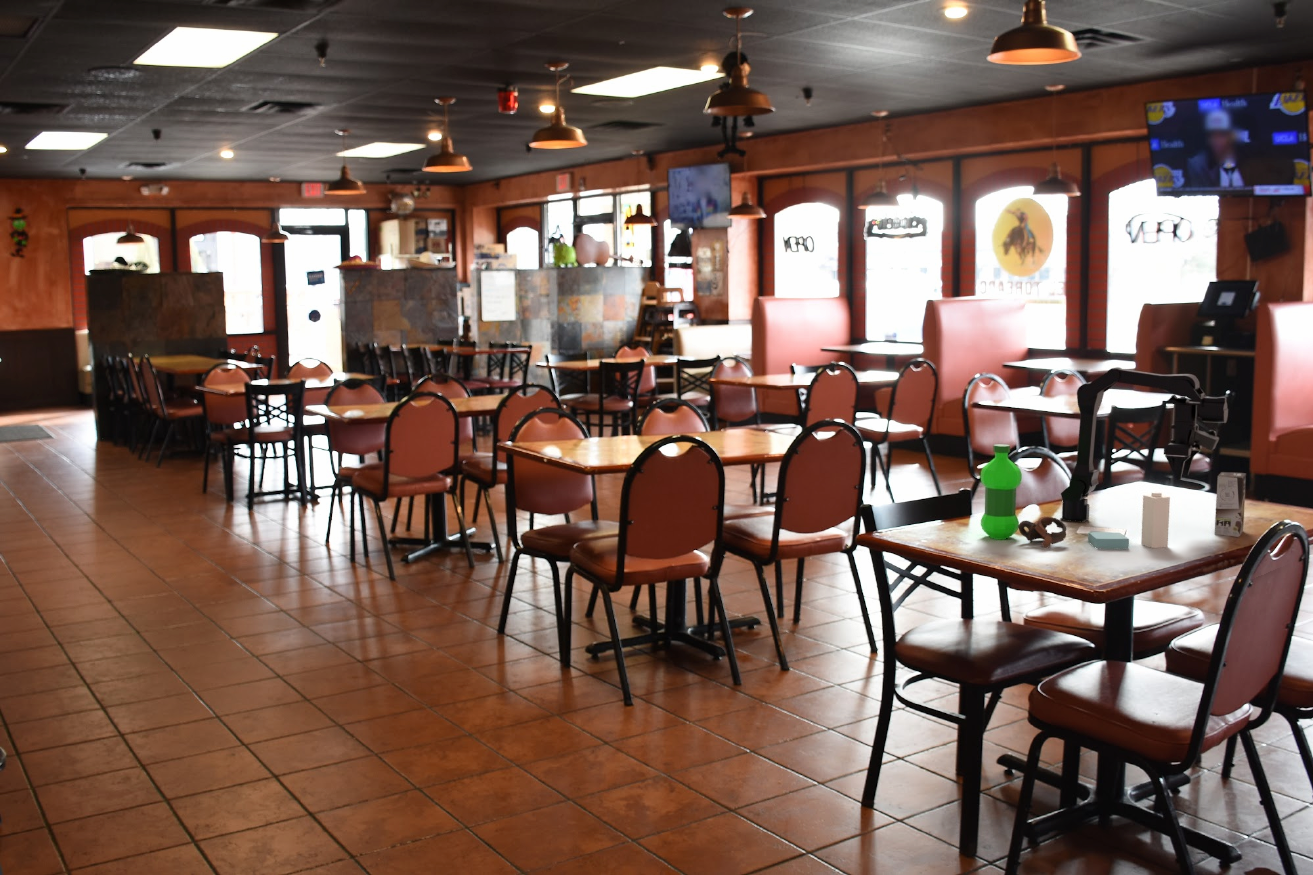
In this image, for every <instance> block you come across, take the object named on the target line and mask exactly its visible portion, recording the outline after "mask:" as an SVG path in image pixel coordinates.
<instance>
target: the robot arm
mask: <svg viewBox="0 0 1313 875" xmlns="http://www.w3.org/2000/svg"><path fill="white" fill-rule="evenodd" d="M1117 383H1120V384H1127V385H1134V386H1140V387H1147V388H1152V389H1160V390H1162V391H1164V392H1167V393H1169V394H1172V395H1171V397H1169V399H1167V400H1166V401H1165V404H1167V405H1173V414H1172V424H1171V426H1170V429H1172V437H1171V438H1172V439H1170V442H1169V443H1168V444H1166V445H1165V446H1164V447H1163V455H1164V456H1165V458H1166V460H1167V463H1168V464H1169V467H1170V469H1171V471H1172V474H1173V476H1174V478H1175V481H1181V480H1182V475H1183V476H1185V477H1186V476H1187V477H1188V476H1189V474H1190V471H1191V470H1190V469H1191V467H1192V465H1193V460H1194V458H1195V456H1196V455H1198V454H1199V453H1200V452H1201V449H1203V447H1204V448H1205V449H1207V450H1208V451H1209V450H1210V451H1213V450H1215V449H1216V447H1217V444H1218V442H1219V440H1220V437H1219V436H1217V435H1218V434H1217V431H1215V430H1214V429H1210V430H1208V431H1207V432H1206V431H1202V430H1199V427H1200V426H1199V424H1198V423H1197V418H1199V419H1201V421H1202V422H1204V423H1216V424H1217V423H1218V424H1221V423H1222V424H1223V423H1224V424H1226V423H1227V421H1228V417H1229V408H1228V403H1227V397H1226V396H1220V397H1210V396H1209V397H1208V396H1207V395H1206V393H1205V392H1204V391H1203V389H1201V386H1200V381H1199V379H1198V378H1197V376H1196V375H1194V374H1191V373H1179V374H1178V373H1177V374H1176V373H1175V374H1173V373H1172V374H1161V373H1153V372H1146V371H1139V370H1134V369H1127V368H1121V367H1112V368H1110V369H1109V370H1107V372H1105V373H1104V374H1102V375H1101V376H1099V377H1098V378H1096V379H1094V380H1093V381H1090V382H1086V383H1082V384H1081V385H1080V386H1079V387H1078V389H1077V390H1076V396H1077V397H1076V400H1077V406H1078V412H1079V414H1080V416H1079V430H1078V440H1077V441H1078V442H1077V451H1076V452H1077V455H1076V462H1075V466H1074V469H1073V470H1072V473H1071V476H1070V481H1069V483H1068V484H1069V486H1068V487H1066V488H1065V489H1064V490H1062V491H1061V492H1060V495H1061V499H1062V504H1061V505H1062V509H1061V518H1060V519H1059V520H1060V521H1062V522H1063V521H1064V522H1072V523H1075V522H1076V523H1084V522H1086V521H1088V520H1089V519H1090V504H1089V502H1088V496H1089V494H1090V493H1091V492H1093V491H1094V490H1095V489H1096V487H1097V485H1099V483H1100V482H1099V478H1098V477H1099V473H1100V470H1099V469H1095V467H1094V462H1093V460H1094V450H1095V440H1096V439H1095V438H1096V437H1095V436H1096V427H1097V417H1098V412H1099V410H1100V407H1101V406H1102V402H1103V398H1104V394H1105V393H1106V392H1107V391H1108V390H1110V389H1111V388H1112V387H1113V386H1115V385H1116V384H1117ZM1177 396H1178V397H1177ZM1190 400H1191V401H1190Z"/></svg>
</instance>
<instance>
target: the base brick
mask: <svg viewBox="0 0 1313 875" xmlns="http://www.w3.org/2000/svg"><path fill="white" fill-rule="evenodd" d="M1087 535H1088V540H1087V541H1088V542H1087V543H1089V544H1090V543H1091V544H1092V545H1093V546H1092V545H1091V544H1090V545H1091V546H1092V547H1093V548H1095V547H1096V548H1101V549H1100V550H1129V548H1130V538H1129V537H1127V536H1126V535H1123V534H1121V533H1088V534H1087ZM1096 548H1095V549H1096Z"/></svg>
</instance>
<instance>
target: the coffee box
mask: <svg viewBox="0 0 1313 875" xmlns="http://www.w3.org/2000/svg"><path fill="white" fill-rule="evenodd" d="M1246 481H1247V473H1244V472H1227V471H1226V472H1225V471H1221V472H1220V473H1219V474H1218V475H1217V481H1216V483H1217V484H1216V500H1215V501H1216V502H1215V518H1214V519H1215V520H1214V535H1217V536H1227V537H1234V538H1235V537H1236V538H1237V537H1238V538H1239V537H1241V535H1242V533H1243V531H1244V522H1245V503H1246V502H1245V501H1246V483H1247V482H1246Z"/></svg>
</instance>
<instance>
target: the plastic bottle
mask: <svg viewBox="0 0 1313 875" xmlns="http://www.w3.org/2000/svg"><path fill="white" fill-rule="evenodd" d="M992 449H993V451H992V452H993V453H995V454H994V458H993V459H991V460H990V461H989V462H988V463H987V464H986V465H984V466H983V467H982V469H981V470H980V483H981V484H982V485H983V486H984V487H985V488H984V513H983V514H982V516H981V520H980V526H981V528H982V531H983V532H984V533H985V534H986V535H987V536H988V537H989V538H990V539H993V538H994V540H1007V539H1006V538H1008V539H1010V537H1012V536H1013V535H1014V534H1015V533H1016V532H1017V531H1018V530H1019V528H1018V526H1019V524H1020V521H1019V519H1018V516H1017V515H1016V510H1017V507H1016V505H1017V503H1016V502H1017V487H1019V486H1020V485H1021V482H1022V479H1023V478H1022V476H1023V475H1022V472H1021V468H1019V466H1017V465H1016V464H1015V463H1014V462H1013V461H1011V460H1010V459H1009V456H1008V455H1009V453H1010V452H1011V445H1010V444H1005V443H1004V444H1003V443H1000V444H999V443H997V444H993V448H992Z"/></svg>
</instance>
